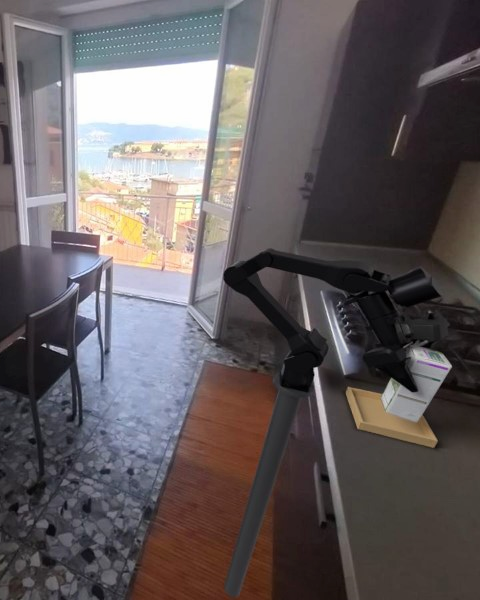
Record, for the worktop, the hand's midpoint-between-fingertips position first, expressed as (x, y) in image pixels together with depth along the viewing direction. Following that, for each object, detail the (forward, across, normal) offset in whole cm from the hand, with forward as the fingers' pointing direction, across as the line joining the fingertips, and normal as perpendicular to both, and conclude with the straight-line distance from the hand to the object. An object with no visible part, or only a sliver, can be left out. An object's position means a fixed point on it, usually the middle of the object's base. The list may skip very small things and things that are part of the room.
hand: (424, 385), depth 72 cm
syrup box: (+4, -1, +7) cm, 8 cm away
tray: (+6, +2, +12) cm, 13 cm away
